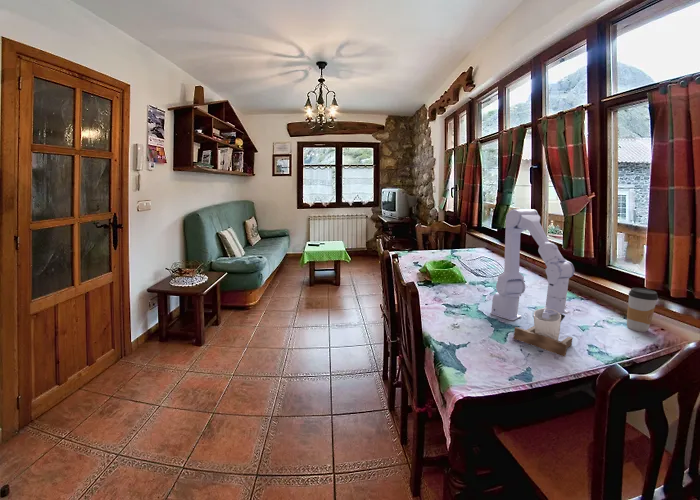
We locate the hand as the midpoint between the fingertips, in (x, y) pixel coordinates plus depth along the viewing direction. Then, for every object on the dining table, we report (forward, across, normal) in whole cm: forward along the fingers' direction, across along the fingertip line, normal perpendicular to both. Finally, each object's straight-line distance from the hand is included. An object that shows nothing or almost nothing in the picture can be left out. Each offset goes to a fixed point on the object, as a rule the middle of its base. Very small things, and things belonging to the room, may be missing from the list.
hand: (551, 333), depth 117 cm
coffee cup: (+2, +37, -16) cm, 40 cm away
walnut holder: (+2, -4, 0) cm, 5 cm away
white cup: (+1, -4, 0) cm, 4 cm away
